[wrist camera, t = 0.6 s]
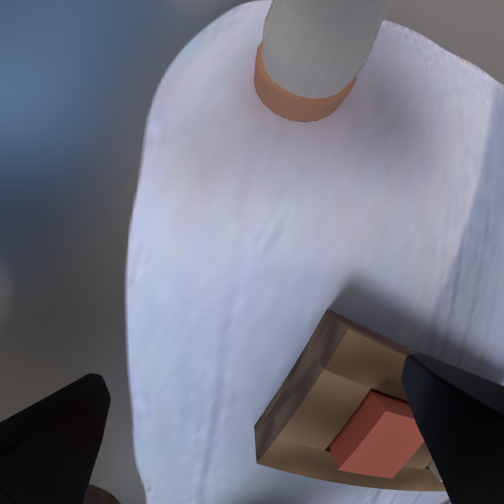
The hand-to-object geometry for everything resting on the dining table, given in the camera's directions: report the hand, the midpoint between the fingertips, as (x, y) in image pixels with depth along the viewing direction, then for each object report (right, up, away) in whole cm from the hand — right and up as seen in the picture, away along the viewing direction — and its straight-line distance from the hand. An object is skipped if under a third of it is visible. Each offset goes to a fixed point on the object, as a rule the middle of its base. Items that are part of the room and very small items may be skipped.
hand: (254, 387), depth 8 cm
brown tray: (+14, -12, +16) cm, 25 cm away
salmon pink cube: (+9, -9, +12) cm, 18 cm away
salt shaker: (+4, +17, +14) cm, 22 cm away
